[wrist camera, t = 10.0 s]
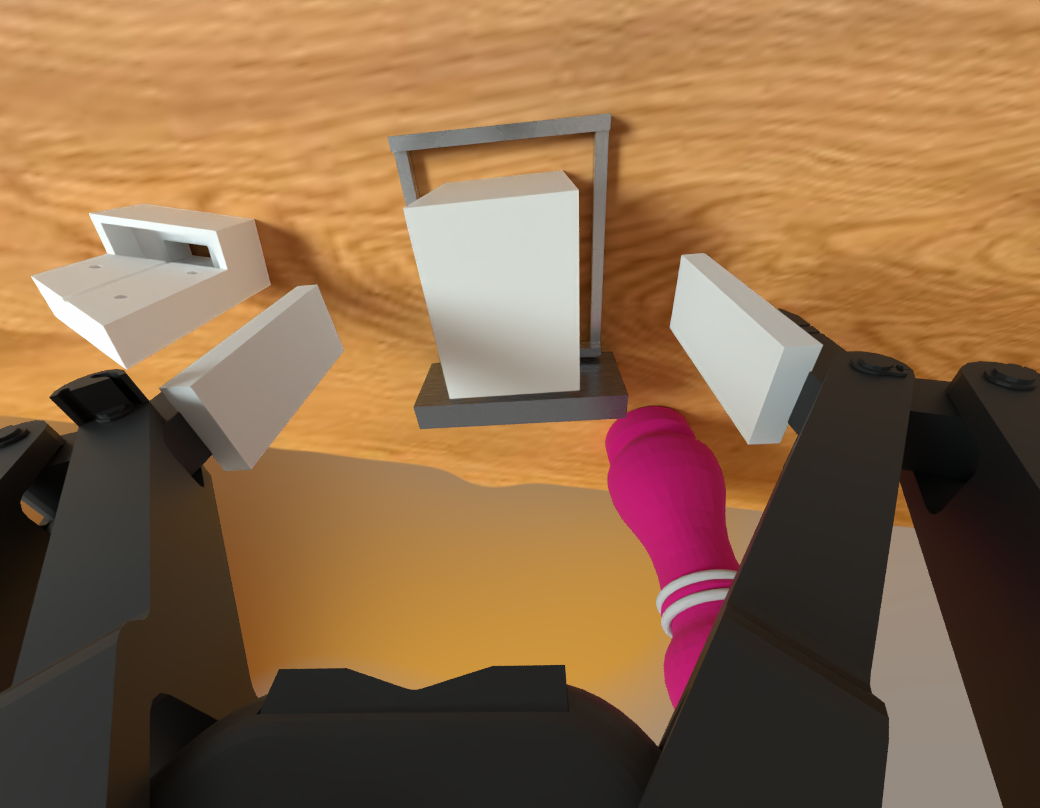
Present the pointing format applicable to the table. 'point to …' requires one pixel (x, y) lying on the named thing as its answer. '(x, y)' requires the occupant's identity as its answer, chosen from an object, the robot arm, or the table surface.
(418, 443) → the table surface
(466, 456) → the table surface
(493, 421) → the rail plate
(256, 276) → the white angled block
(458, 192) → the block
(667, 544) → the pepper mill
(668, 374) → the table surface
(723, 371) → the robot arm
